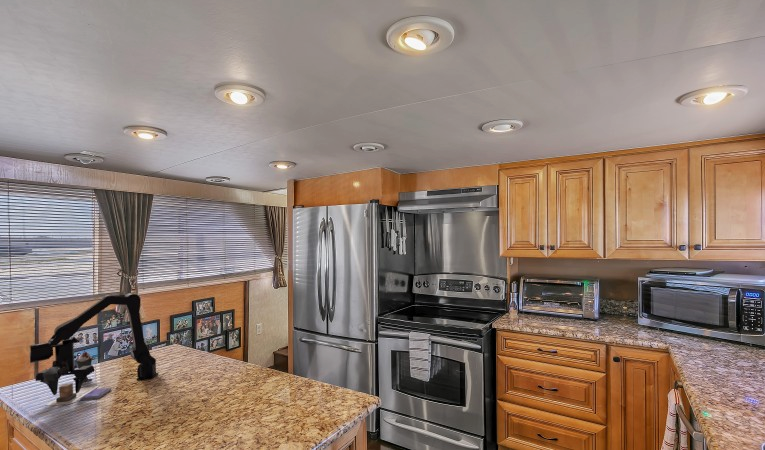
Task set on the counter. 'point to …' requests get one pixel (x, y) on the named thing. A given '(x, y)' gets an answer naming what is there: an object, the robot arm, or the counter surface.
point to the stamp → (66, 393)
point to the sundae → (84, 362)
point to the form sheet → (81, 393)
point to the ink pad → (95, 394)
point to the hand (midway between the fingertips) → (66, 393)
